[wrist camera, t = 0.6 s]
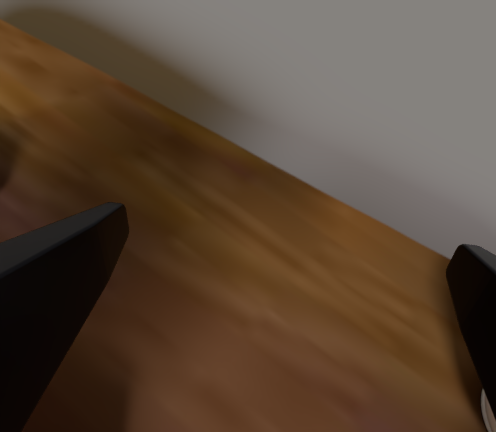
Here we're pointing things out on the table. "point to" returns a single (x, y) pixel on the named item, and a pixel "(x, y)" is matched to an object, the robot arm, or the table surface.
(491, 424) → the lidded jar
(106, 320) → the table surface
